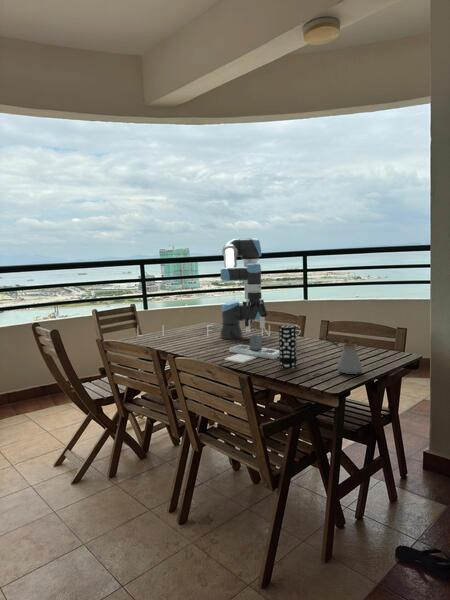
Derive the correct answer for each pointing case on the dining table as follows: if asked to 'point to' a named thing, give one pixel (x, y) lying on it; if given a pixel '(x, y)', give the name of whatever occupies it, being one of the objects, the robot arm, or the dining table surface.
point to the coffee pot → (348, 359)
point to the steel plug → (255, 343)
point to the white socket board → (261, 353)
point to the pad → (240, 358)
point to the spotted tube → (287, 346)
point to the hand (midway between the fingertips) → (255, 330)
